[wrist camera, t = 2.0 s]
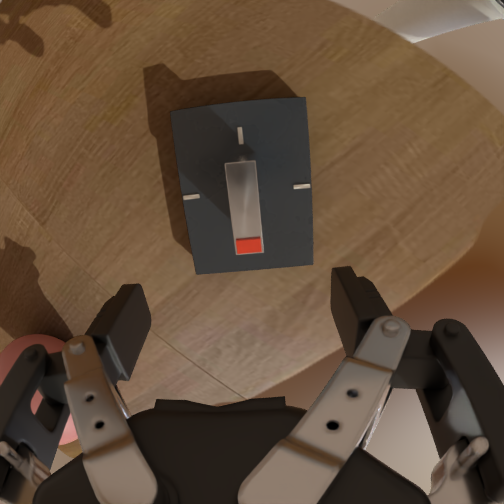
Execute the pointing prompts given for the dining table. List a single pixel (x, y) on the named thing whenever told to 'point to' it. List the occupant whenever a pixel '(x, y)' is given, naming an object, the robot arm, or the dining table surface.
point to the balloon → (4, 363)
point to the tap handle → (244, 203)
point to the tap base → (268, 175)
